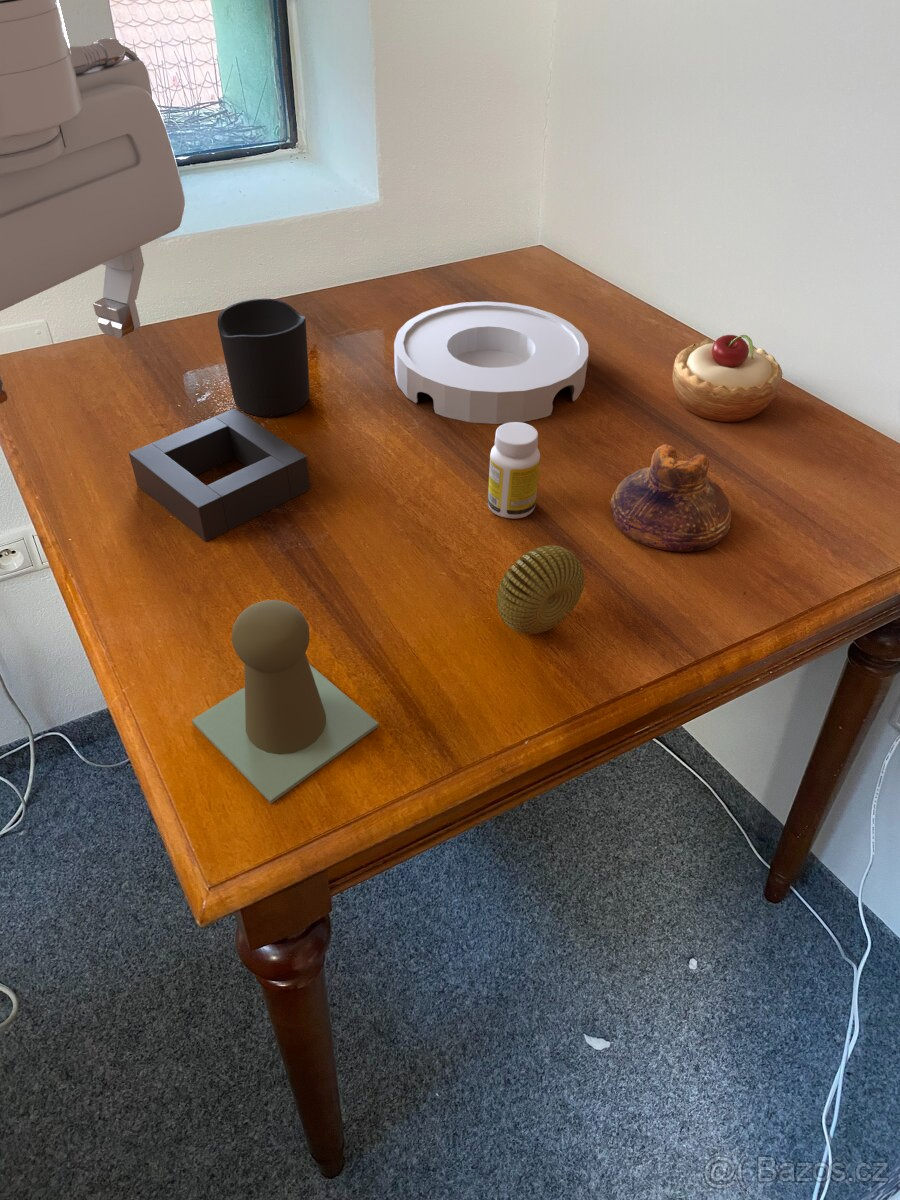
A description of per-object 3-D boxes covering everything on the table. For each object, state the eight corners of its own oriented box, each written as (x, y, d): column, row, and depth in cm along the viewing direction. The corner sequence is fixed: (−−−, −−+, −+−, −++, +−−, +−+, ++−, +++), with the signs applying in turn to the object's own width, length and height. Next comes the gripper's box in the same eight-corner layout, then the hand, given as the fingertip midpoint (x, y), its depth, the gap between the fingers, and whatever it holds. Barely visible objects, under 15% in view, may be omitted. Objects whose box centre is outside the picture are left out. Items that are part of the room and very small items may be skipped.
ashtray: (571, 331, 116) (575, 301, 113) (598, 424, 99) (603, 392, 96) (396, 330, 115) (395, 300, 112) (393, 423, 98) (392, 392, 95)
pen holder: (320, 381, 105) (313, 301, 98) (303, 423, 98) (294, 339, 91) (243, 376, 105) (231, 296, 98) (220, 417, 98) (205, 333, 92)
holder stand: (205, 542, 82) (198, 507, 79) (137, 486, 88) (128, 452, 86) (310, 489, 89) (307, 456, 86) (239, 440, 95) (234, 408, 92)
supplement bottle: (542, 499, 88) (550, 427, 82) (524, 525, 85) (532, 451, 79) (498, 487, 90) (503, 414, 84) (479, 512, 86) (483, 438, 81)
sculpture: (558, 594, 78) (568, 523, 72) (587, 621, 75) (600, 549, 70) (484, 628, 74) (489, 556, 69) (513, 657, 72) (520, 584, 66)
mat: (271, 804, 61) (270, 800, 61) (192, 723, 66) (191, 719, 66) (379, 726, 66) (378, 723, 66) (298, 657, 71) (297, 653, 71)
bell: (584, 509, 87) (593, 447, 82) (666, 469, 92) (680, 408, 87) (672, 572, 80) (689, 508, 75) (755, 524, 86) (776, 462, 81)
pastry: (717, 368, 109) (734, 299, 103) (792, 409, 102) (815, 338, 96) (646, 394, 104) (660, 323, 98) (721, 439, 97) (740, 366, 91)
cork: (321, 755, 64) (307, 650, 56) (238, 753, 64) (213, 648, 56) (330, 692, 68) (318, 587, 61) (253, 691, 68) (231, 585, 61)
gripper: (91, 24, 45) (148, 284, 55) (-323, 114, 32) (-153, 438, 41) (185, 38, 43) (228, 307, 53) (-216, 140, 30) (-63, 476, 39)
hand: (58, 366), depth 47 cm, fingers open, 8 cm apart
